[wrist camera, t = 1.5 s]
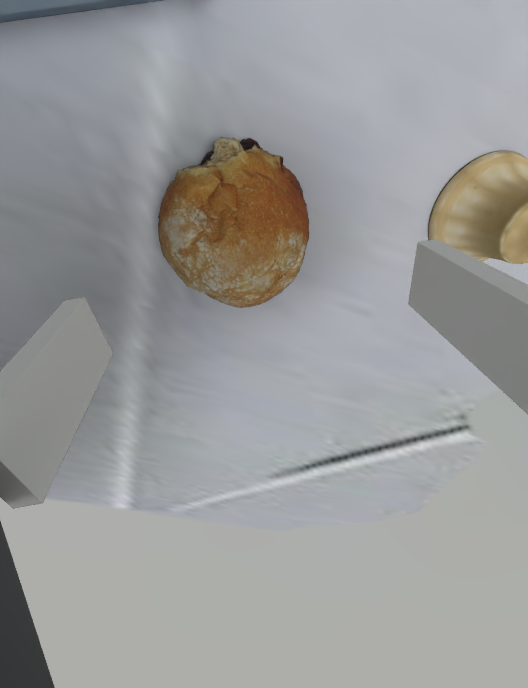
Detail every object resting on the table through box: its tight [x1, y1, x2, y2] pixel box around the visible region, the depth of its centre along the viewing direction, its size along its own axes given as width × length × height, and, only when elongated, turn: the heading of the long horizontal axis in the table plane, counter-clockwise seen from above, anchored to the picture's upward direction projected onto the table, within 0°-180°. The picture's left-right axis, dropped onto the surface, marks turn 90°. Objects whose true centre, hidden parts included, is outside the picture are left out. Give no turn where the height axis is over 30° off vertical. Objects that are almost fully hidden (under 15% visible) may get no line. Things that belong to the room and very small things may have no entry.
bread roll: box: [158, 137, 309, 308], centre depth 21 cm, size 10×10×8 cm
